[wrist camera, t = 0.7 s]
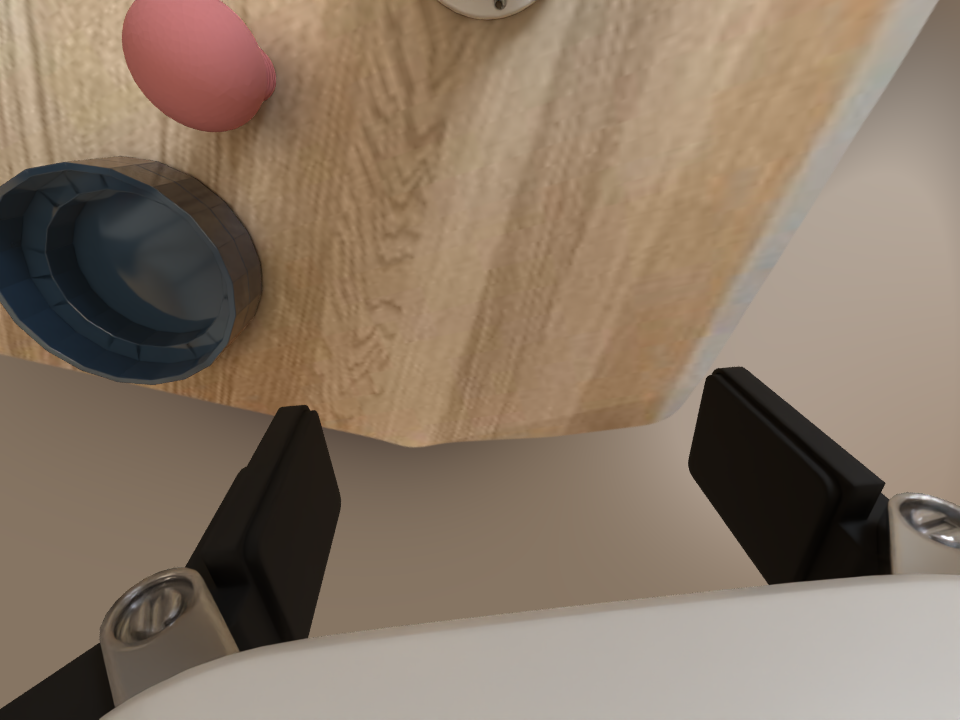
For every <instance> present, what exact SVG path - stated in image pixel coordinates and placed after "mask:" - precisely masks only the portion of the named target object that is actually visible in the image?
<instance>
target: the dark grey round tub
mask: <svg viewBox="0 0 960 720" xmlns="http://www.w3.org/2000/svg"><path fill="white" fill-rule="evenodd" d="M261 293H262V284H261V269H260V261H259V258H258V256H257V253H256V251H255V248H254V246H253V243H252V241H251V238H250V236H249V233H248V232H247V230H246V229H245V228H244V226H243V225H242V224H241V222H240V221H239V220H238V218H237V217H236V216H235V214H234V213H233V212H232V211H231V209H230V208H229V207H228V205H227V204H226V203H225V202H224V201H223V200H222V199H220V198H219V197H218V196H217V195H215V194H214V193H213V192H212V191H210V190H209V189H208V188H207V187H205V186H204V185H203V184H202V183H200V182H199V181H198V180H196V179H195V178H193V177H191V176H189V175H187V174H184V173H182V172H180V171H178V170H175V169H173V168H171V167H169V166H166V165H164V164H162V163H160V162H157V161H150V160H143V159H136V158H130V157H123V156H118V157H108V158H98V159H88V160H78V161H68V162H61V163H56V164H50V165H45V166H40V167H34V168H29V169H25V170H24V171H22V172H21V173H19V174H18V175H16V176H15V177H13V178H12V179H10V180H9V181H7V182H6V183H4V184H3V185H2V186H0V302H1V304H2V305H3V307H4V308H5V309H6V311H7V312H8V314H9V315H10V316H11V318H12V319H13V321H14V322H15V323H16V324H17V325H18V326H19V327H20V328H21V329H22V330H24V331H25V332H26V333H27V334H28V335H29V336H30V337H32V338H33V339H34V340H35V341H36V342H37V343H38V344H39V345H41V346H42V347H43V348H44V349H45V350H47V351H48V352H50V353H52V354H53V355H55V356H57V357H59V358H60V359H62V360H64V361H66V362H67V363H69V364H71V365H73V366H75V367H76V368H78V369H80V370H82V371H85V372H88V373H91V374H94V375H97V376H101V377H104V378H107V379H110V380H113V381H116V382H123V383H135V384H147V385H156V384H162V383H167V382H173V381H178V380H184V379H186V378H188V377H190V376H192V375H194V374H195V373H197V372H199V371H201V370H203V369H204V368H206V367H208V366H210V365H211V364H212V363H213V362H214V361H215V360H216V359H217V358H218V357H219V356H220V355H221V354H222V353H223V351H224V350H225V349H226V348H227V347H228V346H229V345H230V344H231V343H232V342H233V341H234V340H235V339H236V338H237V337H238V336H239V334H240V333H241V332H242V331H243V330H244V328H245V327H246V326H247V325H248V323H249V322H250V321H251V320H252V319H253V317H254V316H255V313H256V309H257V306H258V303H259V299H260V296H261Z"/></svg>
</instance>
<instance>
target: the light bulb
mask: <svg viewBox="0 0 960 720" xmlns="http://www.w3.org/2000/svg"><path fill="white" fill-rule="evenodd" d="M122 46H123V51H124V55H125V59H126V63H127V66H128V68H129V70H130V72H131V74H132V76H133V78H134V80H135V82H136V84H137V85H138V86H139V88H140V89H141V91H142V92H143V93H144V95H145V96H146V97H147V98H148V99H149V100H150V101H151V103H153V104H154V105H155V106H156V107H157V108H158V109H159V110H161V111H162V112H163V113H164V114H165V115H167V116H168V117H170V118H172V119H173V120H175V121H177V122H179V123H181V124H183V125H185V126H187V127H190V128H193V129H197V130H201V131H207V132H223V131H228V130H233V129H236V128H238V127H240V126H242V125H244V124H246V123H247V122H248V121H249V120H250V119H252V118H253V116H254V115H255V114H256V113H257V111H258V110H259V108H260V106H261V104H262V102H263V101H265V100H267V99H268V98H269V97H270V96H271V95H272V93H273V91H274V89H275V85H276V74H275V70H274V67H273V64H272V62H271V60H270V59H269V57H268V56H267V55H266V54H265V53H264V52H263V50H261V49H260V48H259V46H258V44H257V42H256V40H255V38H254V36H253V34H252V33H251V32H250V30H249V29H248V27H247V26H246V24H245V23H244V22H243V21H242V20H241V19H240V18H239V16H238V15H237V14H236V13H234V12H233V11H232V10H231V9H230V8H229V7H228V6H226V5H225V4H224V3H222V2H221V1H219V0H135V1H134V2H133V4H132V5H131V7H130V8H129V10H128V12H127V14H126V16H125V20H124V23H123V30H122Z"/></svg>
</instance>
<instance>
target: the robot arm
mask: <svg viewBox="0 0 960 720" xmlns="http://www.w3.org/2000/svg"><path fill="white" fill-rule="evenodd" d="M438 1H439V2H440V3H441V4H443V5H445V6H446V7H448V8H450V9H451V10H453V11H454V12H456V13H459V14H462V15H465V16H467V17H470V18H476V19H485V20H491V19H499V18H505V17H508V16H510V15H513V14H516V13H518V12H520V11H522V10H524V9H525V8H527V7H528V6H530V5H531V4H533V3H534V2H535V1H536V0H438ZM497 1H500V2H501V3H502V8H500V9H498V8H497V7H496V5H495V3H496V2H497ZM688 466H689V471H690V473H691V475H692V477H693V478H694V480H695V481H696V483H697V484H698V485H699V487H700V488H701V490H702V491H703V492H704V494H705V495H706V497H707V498H708V499H709V501H710V502H711V504H712V505H713V507H714V508H715V509H716V511H717V512H718V514H719V515H720V516H721V518H722V519H723V521H724V522H725V524H726V525H727V526H728V528H729V529H730V531H731V532H732V533H733V535H734V536H735V538H736V539H737V541H738V542H739V543H740V545H741V546H742V548H743V549H744V550H745V552H746V553H747V555H748V556H749V557H750V559H751V560H752V562H753V563H754V565H755V566H756V567H757V569H758V570H759V572H760V573H761V574H762V576H763V577H764V579H765V580H766V581H767V583H768V584H769V585H766V586H757V587H746V588H737V589H727V590H717V591H708V592H699V593H689V594H679V595H670V596H661V597H652V598H642V599H634V600H624V601H616V602H607V603H597V604H589V605H579V606H570V607H561V608H552V609H543V610H536V611H525V612H516V613H508V614H499V615H491V616H482V617H473V618H465V619H457V620H448V621H440V622H431V623H422V624H414V625H405V626H396V627H388V628H381V629H374V630H366V631H358V632H351V633H343V634H336V635H328V636H321V637H313V638H308V635H309V632H310V628H311V624H312V620H313V616H314V612H315V608H316V604H317V600H318V596H319V592H320V588H321V584H322V580H323V576H324V572H325V568H326V564H327V560H328V556H329V553H330V549H331V545H332V541H333V537H334V533H335V529H336V525H337V521H338V517H339V513H340V507H341V497H340V492H339V489H338V485H337V481H336V478H335V474H334V470H333V467H332V463H331V460H330V456H329V452H328V448H327V445H326V441H325V437H324V434H323V430H322V426H321V423H320V419H319V416H318V413H317V411H315V410H312V411H310V409H309V408H308V406H307V405H299V406H288V407H281V408H279V410H278V411H277V413H276V415H275V417H274V419H273V420H272V422H271V424H270V426H269V428H268V429H267V431H266V433H265V435H264V436H263V438H262V440H261V442H260V444H259V446H258V447H257V449H256V451H255V453H254V455H253V456H252V458H251V460H250V462H249V464H248V466H247V467H245V468H243V469H242V470H241V471H240V472H239V473H238V475H237V477H236V478H235V480H234V482H233V484H232V485H231V487H230V489H229V491H228V493H227V494H226V496H225V498H224V500H223V501H222V503H221V505H220V506H219V508H218V510H217V512H216V514H215V515H214V517H213V519H212V521H211V523H210V525H209V526H208V528H207V529H206V531H205V533H204V535H203V536H202V538H201V540H200V542H199V544H198V545H197V547H196V549H195V551H194V553H193V554H192V556H191V558H190V559H189V561H188V563H187V565H186V566H185V567H184V568H172V569H167V570H164V571H160V572H158V573H155V574H153V575H151V576H149V577H147V578H145V579H143V580H142V581H140V582H139V583H137V584H136V585H134V586H133V587H131V588H130V589H129V590H128V591H126V592H125V593H124V594H123V595H122V596H121V597H120V598H119V599H118V600H117V601H116V602H115V603H114V604H113V606H112V607H111V608H110V610H109V611H108V612H107V614H106V615H105V618H104V620H103V622H102V625H101V627H100V643H98V644H97V645H95V646H94V647H93V648H91V649H89V650H88V651H86V652H85V653H83V654H82V655H80V656H79V657H77V658H76V659H75V660H73V661H71V662H70V663H68V664H67V665H66V666H64V667H63V668H61V669H59V670H58V671H56V672H55V673H54V674H52V675H51V676H49V677H48V678H46V679H45V680H43V681H42V682H40V683H39V684H37V685H36V686H34V687H33V688H31V689H30V690H28V691H27V692H25V693H24V694H22V695H21V696H19V697H18V698H16V699H15V700H13V701H12V702H10V703H9V704H7V705H6V706H4V707H3V708H1V709H0V720H960V506H958V505H956V504H954V503H952V502H949V501H946V500H944V499H941V498H938V497H934V496H931V495H926V494H922V493H908V492H907V493H901V494H896V495H895V496H893V497H892V498H891V499H888V498H887V497H885V496H884V495H883V494H882V493H881V491H882V489H883V487H884V485H885V482H884V481H882V480H881V479H880V478H879V477H877V476H876V475H875V474H874V473H873V472H871V471H870V470H869V469H868V468H866V467H865V466H864V465H863V464H862V463H860V462H859V461H858V460H857V459H855V458H854V457H853V456H852V455H850V454H849V453H848V452H847V451H846V450H844V449H843V448H842V447H841V446H840V445H838V444H837V443H836V442H835V441H833V440H832V439H831V438H830V437H828V436H827V435H826V434H825V433H824V432H822V431H821V430H820V429H819V428H817V427H816V426H815V425H814V424H813V423H811V422H810V421H809V420H808V419H806V418H805V417H804V416H803V415H802V414H800V413H799V412H798V411H797V410H795V409H794V408H793V407H792V406H791V405H789V404H788V403H787V402H786V401H784V400H783V399H782V398H781V397H780V396H778V395H777V394H776V393H775V392H773V391H772V390H771V389H770V388H768V387H767V386H766V385H765V384H764V383H762V382H761V381H760V380H759V379H758V378H756V377H755V376H754V375H752V374H751V373H750V372H749V371H748V370H746V369H745V368H743V367H729V368H718V369H716V370H714V371H713V373H712V375H709V376H708V377H707V378H706V381H705V385H704V390H703V394H702V399H701V404H700V408H699V413H698V418H697V423H696V427H695V432H694V436H693V441H692V446H691V450H690V455H689V460H688Z"/></svg>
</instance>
